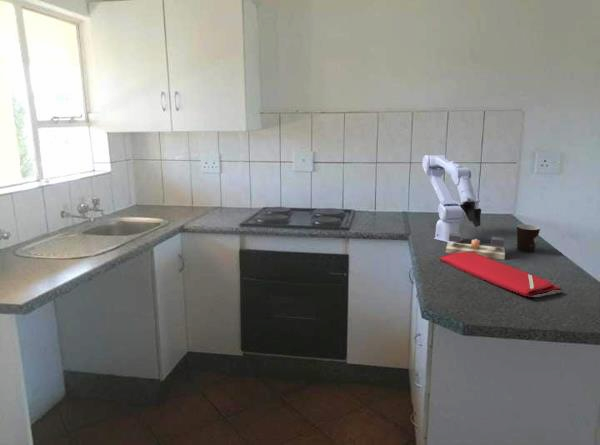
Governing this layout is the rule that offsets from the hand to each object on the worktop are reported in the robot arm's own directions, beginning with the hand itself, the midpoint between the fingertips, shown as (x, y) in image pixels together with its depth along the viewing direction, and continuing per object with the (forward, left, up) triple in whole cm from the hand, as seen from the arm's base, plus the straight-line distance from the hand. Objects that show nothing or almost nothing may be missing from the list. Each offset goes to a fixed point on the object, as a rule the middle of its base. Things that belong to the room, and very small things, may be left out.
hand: (475, 223), depth 186 cm
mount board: (0, +1, -12) cm, 13 cm away
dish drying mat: (+19, -17, -13) cm, 29 cm away
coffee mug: (+12, +22, -13) cm, 28 cm away
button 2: (+7, +5, -8) cm, 12 cm away
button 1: (-7, -3, -8) cm, 11 cm away
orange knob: (0, +1, -10) cm, 11 cm away
